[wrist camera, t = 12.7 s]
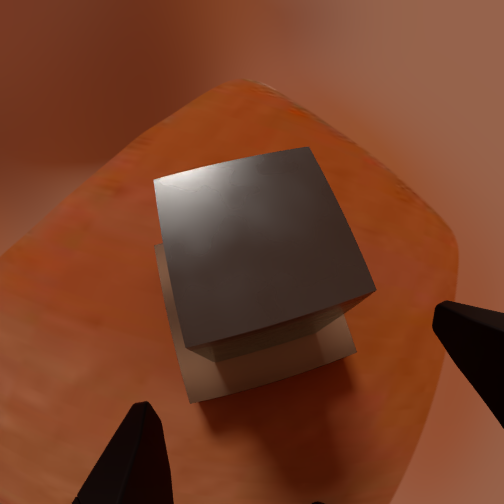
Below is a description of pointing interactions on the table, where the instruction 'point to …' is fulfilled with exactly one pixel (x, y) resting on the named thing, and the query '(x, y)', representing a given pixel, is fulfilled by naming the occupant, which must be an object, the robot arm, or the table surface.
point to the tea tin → (257, 253)
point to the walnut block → (250, 354)
